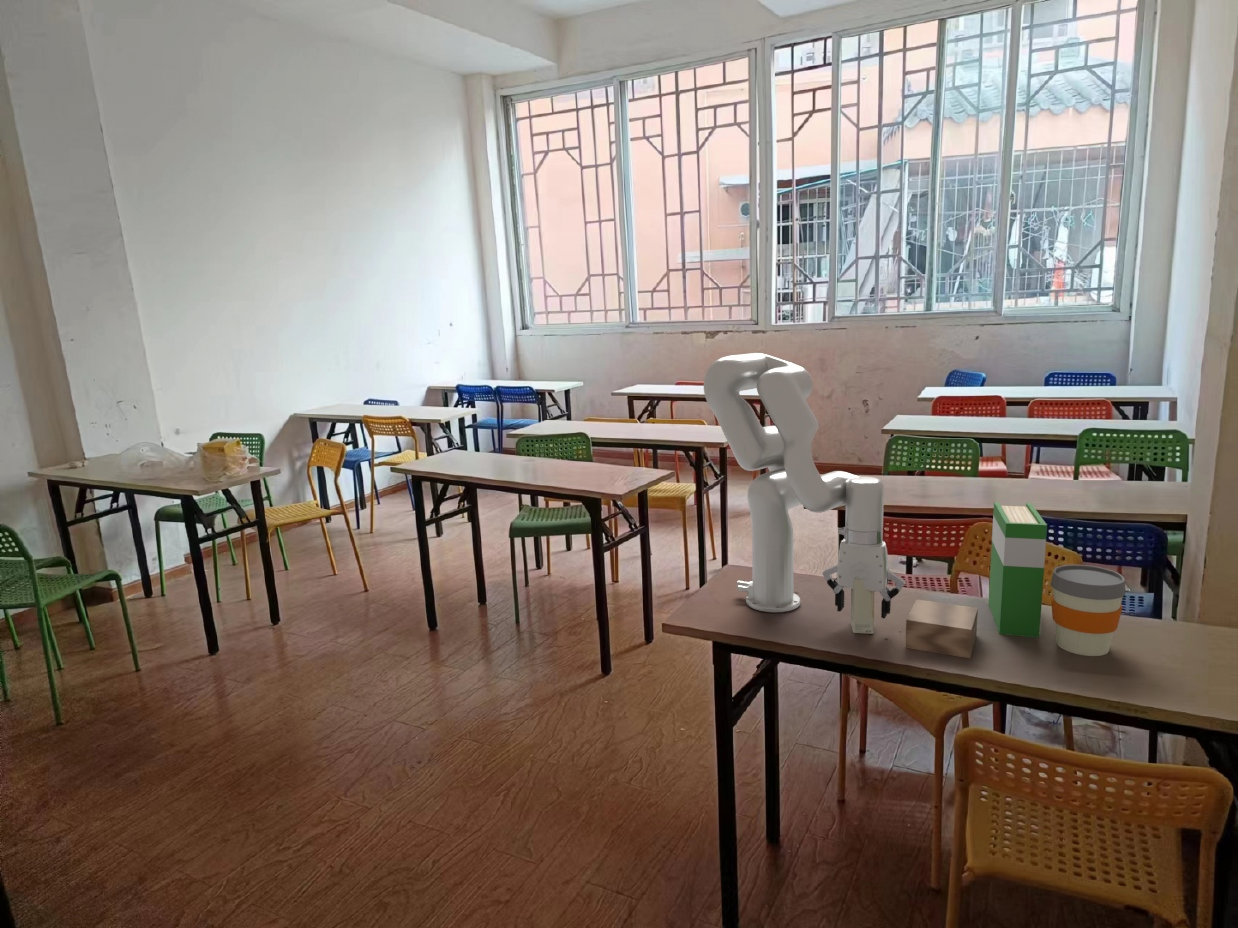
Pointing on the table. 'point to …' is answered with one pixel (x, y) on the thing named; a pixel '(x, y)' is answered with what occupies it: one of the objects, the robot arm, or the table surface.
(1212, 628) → the table surface
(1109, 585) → the reusable coffee cup
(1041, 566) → the hardback book
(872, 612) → the skincare box
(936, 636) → the walnut block
